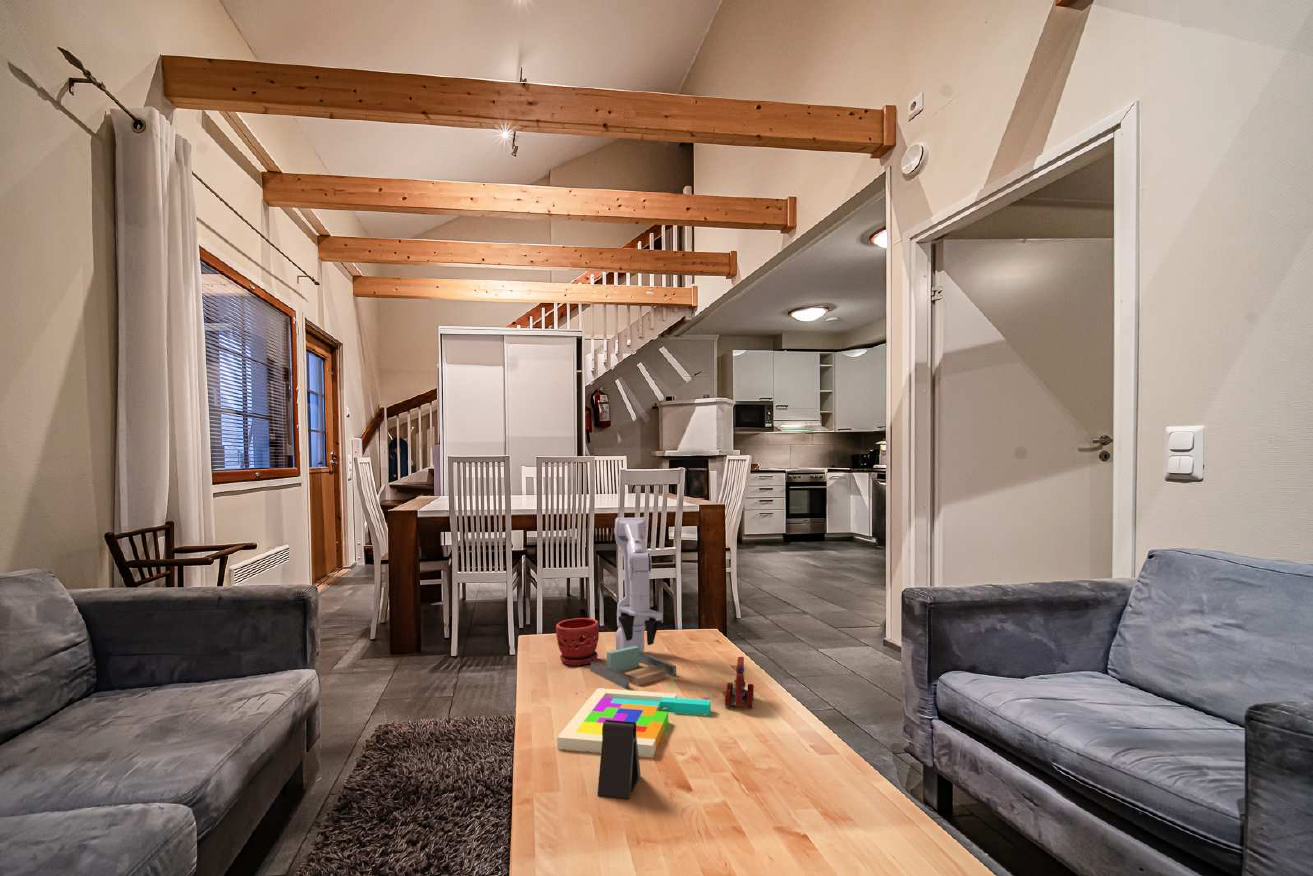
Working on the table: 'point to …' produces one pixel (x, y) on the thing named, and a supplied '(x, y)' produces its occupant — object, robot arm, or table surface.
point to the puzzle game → (626, 718)
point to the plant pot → (578, 640)
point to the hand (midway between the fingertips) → (639, 642)
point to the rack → (624, 680)
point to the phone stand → (618, 759)
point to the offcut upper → (645, 675)
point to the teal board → (623, 658)
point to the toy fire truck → (739, 689)
